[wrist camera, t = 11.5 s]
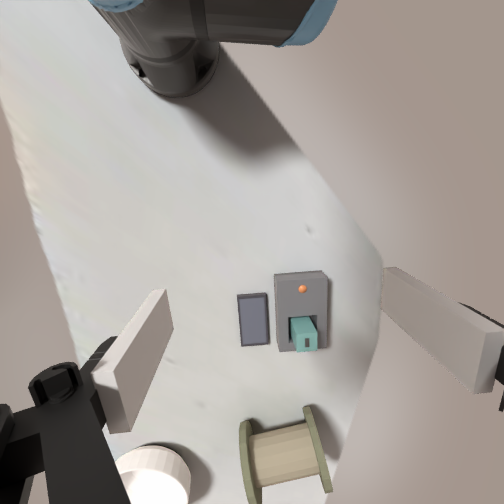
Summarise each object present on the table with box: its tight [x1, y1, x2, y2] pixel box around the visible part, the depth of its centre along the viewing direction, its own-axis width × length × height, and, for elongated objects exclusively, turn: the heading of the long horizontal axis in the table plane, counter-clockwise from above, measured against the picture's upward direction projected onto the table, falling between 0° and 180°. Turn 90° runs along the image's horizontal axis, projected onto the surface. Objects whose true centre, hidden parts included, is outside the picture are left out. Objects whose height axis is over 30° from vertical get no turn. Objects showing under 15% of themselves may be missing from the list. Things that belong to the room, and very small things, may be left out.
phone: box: [237, 293, 268, 347], centre depth 55 cm, size 6×12×1 cm, turn 4°
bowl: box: [115, 446, 191, 504], centre depth 61 cm, size 20×20×8 cm
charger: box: [289, 316, 317, 352], centre depth 52 cm, size 4×4×7 cm
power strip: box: [274, 270, 328, 352], centre depth 53 cm, size 16×10×4 cm, turn 4°
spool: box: [239, 406, 333, 504], centre depth 56 cm, size 16×15×15 cm
